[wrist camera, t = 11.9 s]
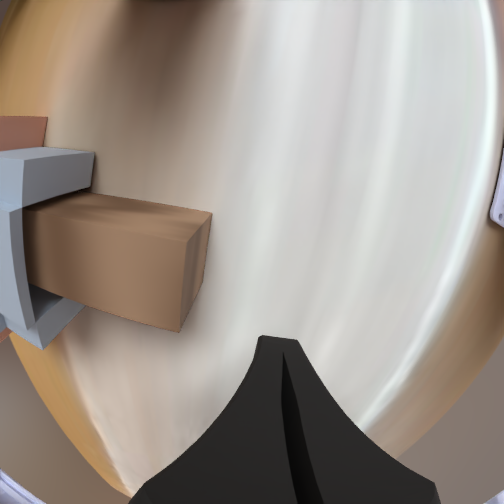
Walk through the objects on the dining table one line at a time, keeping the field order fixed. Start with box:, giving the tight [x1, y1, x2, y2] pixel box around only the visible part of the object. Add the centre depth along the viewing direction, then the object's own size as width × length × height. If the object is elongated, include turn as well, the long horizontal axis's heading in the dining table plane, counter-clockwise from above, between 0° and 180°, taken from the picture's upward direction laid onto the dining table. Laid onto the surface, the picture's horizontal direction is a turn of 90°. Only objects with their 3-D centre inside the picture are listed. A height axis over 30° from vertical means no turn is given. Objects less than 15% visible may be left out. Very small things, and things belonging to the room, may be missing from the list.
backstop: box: [0, 116, 48, 343], centre depth 11 cm, size 1×14×6 cm, turn 166°
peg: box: [22, 191, 212, 333], centre depth 12 cm, size 11×4×5 cm, turn 79°
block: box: [0, 147, 95, 350], centre depth 11 cm, size 5×10×6 cm, turn 166°
